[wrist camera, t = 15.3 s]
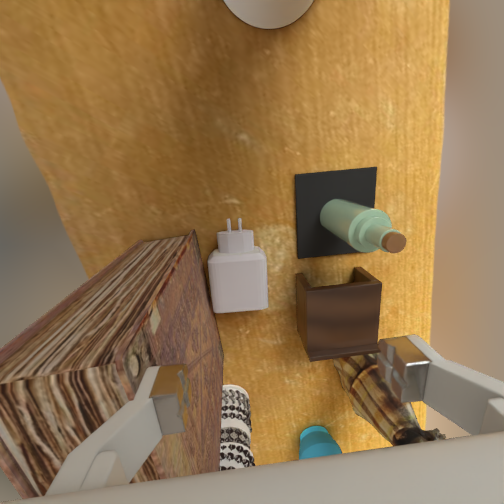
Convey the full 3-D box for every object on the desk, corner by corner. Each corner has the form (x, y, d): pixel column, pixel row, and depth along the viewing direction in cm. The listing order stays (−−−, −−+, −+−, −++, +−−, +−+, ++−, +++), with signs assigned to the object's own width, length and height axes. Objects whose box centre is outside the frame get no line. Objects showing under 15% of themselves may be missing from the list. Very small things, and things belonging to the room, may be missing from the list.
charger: (261, 213, 42) (265, 295, 47) (205, 217, 42) (214, 300, 46) (265, 219, 38) (269, 309, 42) (202, 223, 37) (212, 314, 42)
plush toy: (399, 323, 50) (492, 478, 27) (407, 374, 55) (491, 542, 32) (326, 335, 53) (354, 481, 31) (339, 382, 58) (372, 539, 35)
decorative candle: (205, 416, 55) (186, 606, 31) (207, 382, 52) (187, 562, 28) (248, 417, 56) (261, 601, 32) (252, 383, 53) (269, 557, 29)
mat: (294, 174, 41) (295, 174, 40) (375, 167, 41) (377, 166, 41) (297, 257, 45) (298, 258, 45) (369, 249, 46) (371, 250, 45)
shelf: (295, 273, 46) (308, 296, 38) (360, 266, 47) (387, 287, 39) (297, 330, 50) (309, 361, 42) (357, 323, 50) (381, 352, 42)
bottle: (319, 200, 42) (372, 220, 26) (353, 197, 42) (425, 214, 26) (319, 233, 43) (368, 271, 28) (352, 230, 44) (418, 265, 28)
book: (139, 238, 42) (-57, 386, 13) (195, 228, 42) (120, 355, 14) (177, 363, 50) (105, 620, 22) (224, 354, 50) (214, 598, 22)
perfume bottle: (326, 415, 57) (358, 497, 43) (338, 442, 60) (371, 526, 46) (288, 430, 58) (307, 516, 44) (302, 455, 61) (323, 543, 47)
